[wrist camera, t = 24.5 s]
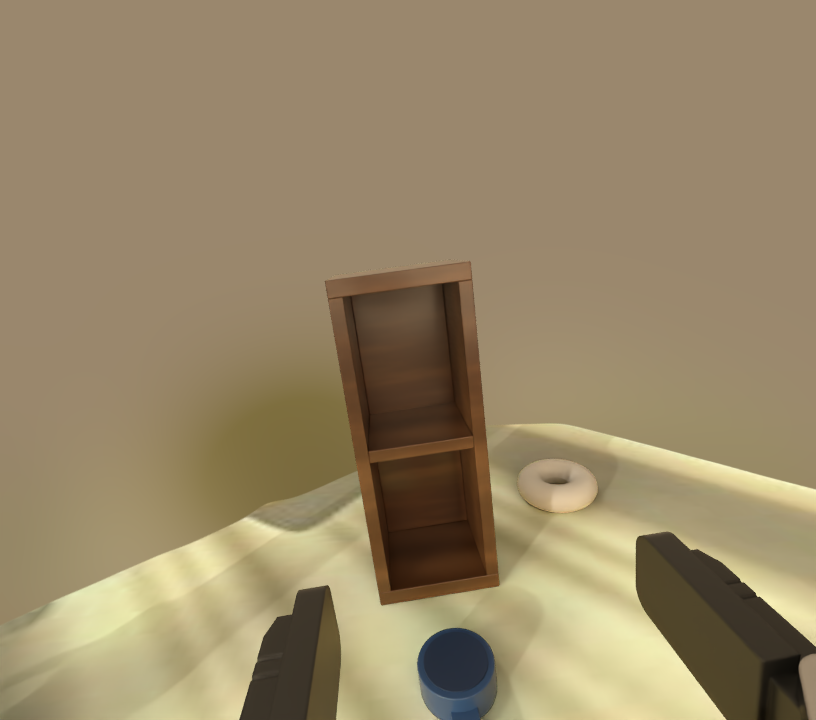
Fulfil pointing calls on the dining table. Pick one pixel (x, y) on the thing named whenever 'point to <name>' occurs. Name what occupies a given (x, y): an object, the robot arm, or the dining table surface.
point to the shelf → (417, 425)
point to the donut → (563, 498)
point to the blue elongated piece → (457, 675)
